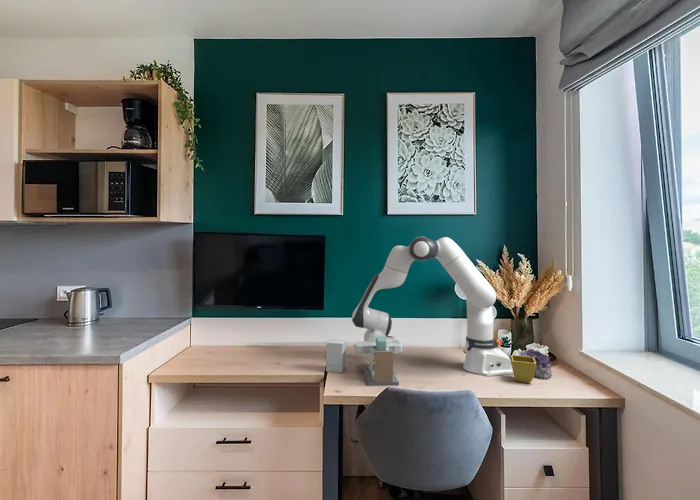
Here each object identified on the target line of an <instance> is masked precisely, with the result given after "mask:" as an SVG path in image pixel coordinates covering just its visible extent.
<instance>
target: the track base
mask: <svg viewBox="0 0 700 500" xmlns="http://www.w3.org/2000/svg"><path fill="white" fill-rule="evenodd" d="M393 369H394V353H393V351H375V354H374V365H373V363H372V362H371V361H369V362H368V367H363V373H364V376H365V379H366V382H367V385H368V386H370V387H372V386H373V387H374V386H376V387H377V386H378V387H379V386H380V387H381V386H399V385H400V382H399V380H398V378H397V376H396V374H395V373H394V370H393Z"/></svg>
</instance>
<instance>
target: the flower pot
mask: <svg viewBox="0 0 700 500" xmlns="http://www.w3.org/2000/svg"><path fill="white" fill-rule="evenodd" d="M510 361H511V366H512V370H513V377H514V379H515V381H516V382H519V383H528V384H530V383H531V382H532V381H533V379H534V377H535V375H534V374H535V368H536V362H535V360H534V358H533V357H526V356H519V355H514V354H513V355H510Z"/></svg>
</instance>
